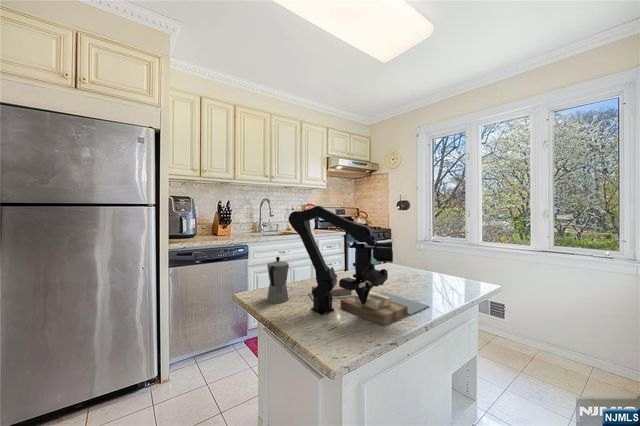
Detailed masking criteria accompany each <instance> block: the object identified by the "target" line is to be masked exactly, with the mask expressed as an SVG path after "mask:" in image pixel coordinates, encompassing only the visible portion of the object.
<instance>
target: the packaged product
mask: <svg viewBox="0 0 640 426" xmlns="http://www.w3.org/2000/svg"><path fill="white" fill-rule="evenodd" d="M317 286H318V284H317V285H312V287H311V290H308V292H307V293H308V296H309V298H311V300H312V301H313V294H312V290H313V289H314V288H315V287H317ZM352 291H353V290H347V289H344V288H341V287H339V283H336V285H335V287H334V288H333V289H332V290H331V291H330V293H331V296H332V300H343V299H346V298H349V297H353V296H354V295H353V294H352Z"/></svg>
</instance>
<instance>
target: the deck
mask: <svg viewBox="0 0 640 426" xmlns="http://www.w3.org/2000/svg"><path fill="white" fill-rule="evenodd" d="M340 309H343V310H345V311H347V312H350V313H352V314H355V316H356V315H357V316H359V317H362V318H364V319H366V320H369V321H372V322H374V323H376V324H378V325H380V326H383V327H384V326H386V325H388V324H390V323H392V322H395V321H397V320H399V319H401V318H404V317H407V316H409V315H408V307H407V306H404V305H401V304H398V303H395V302H392V301H391V305H388V306H386V307H383V308H380V309H378V310H375V309H373V308H370V307H367V306H365V305H362V304H359V303H357V302H355V295H353V297H349V298H342V299H340Z"/></svg>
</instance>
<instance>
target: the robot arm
mask: <svg viewBox="0 0 640 426" xmlns="http://www.w3.org/2000/svg"><path fill="white" fill-rule="evenodd" d="M317 218H319V219H322V220H323V221H325V222H328V223H329V224H331V225H334V226H335V227H337V228H338V229H341V230H343V231H345V232H346V233H347V234H348V235H349V236H350V237H351V238H353V239H354V241H353V242H352V244H350V246H349V248H350V249H354V250H355V251H354V252H355V255H354V256H355V259H354V261H355V262H353V263H352V266H353V267H354V268H355V269H354V271H355V272H354V273H353V274H352V277H344V278H341V279H340V280H339V281H338V279H337V278H338V275H337V273H336V272H335V269H334V267H333V266H331V267H329V266H328V265H327V264H326V262H325V260H324V257H323V255H322V253H321V250H320V248H319V246H318V244H317V242H316V240H315V237H314V235H313V233H312V229H311V222H310V221H312V220H314V219H317ZM288 222H289V224H290V226H291V228H292V229H293V230H294V231H295V232H296V233H297V234H298V236H299V237H300V239H301V241H302V243H303V247H304V248H305V251H306V253H307V254H308V257H309V259H310V261H311V264H312V266H313V268H314V271H315V281H316V284H317V285H318V286H317V287H315V288H314V289H313V290H312V289H311V291H312V294H313V300H312V303H313V307H310V310H311V311H313V312H315V313H317V314H319V315H325V314H327V313H330V312H334V311H335V308H333V299H332V296H331V293H330V291H331V290H332V289H333V288H334V287H335V285H336V284H339V287H341V288H344V289H347V290H351V291H355V293H356V295H358V297H359V299H360V301H361V304H363V305H364V304H365V303H366V300H367V297H368V294H369V292H371V289H373V288H374V287H379V286H384V283H385V282H387V280H388V270H387V269H385V268H382V269H380V270H379V269H376V267H375V264H374V263H372V258H373V259H374V260H376V262H380V263H381V262H383V263H393V262H394V250H393V242H378V241H377V239H376V238H375V236H373V230H372V228H371V227H370V226H368V225H365V224H362V223H358V222H355V221H351V220H349V219H347V218H345V217H343V216H341V215H339V214H336V213H335V212H333V211H331V210H328V209H327V208H325V207H323V206H321V205H315V206H313V207H311V208H307V209H305V210H298V211H297V210H295V211H292V212H291V213H290V214H289V215H288Z"/></svg>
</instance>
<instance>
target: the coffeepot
mask: <svg viewBox="0 0 640 426" xmlns="http://www.w3.org/2000/svg"><path fill="white" fill-rule="evenodd" d="M275 260H276V261H272V262H268V263H266V265H267V272H268V280H269V285H268V291H267V298H266V300H267V302H268V303H270V304H271V303H272V304H282V303H286V302H287V301H289V299H290V298H289V293H288V286H287V280H288V279H287V278H288V271H289V263H288V262H286V261H281V260H280V256H276V257H275Z"/></svg>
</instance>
